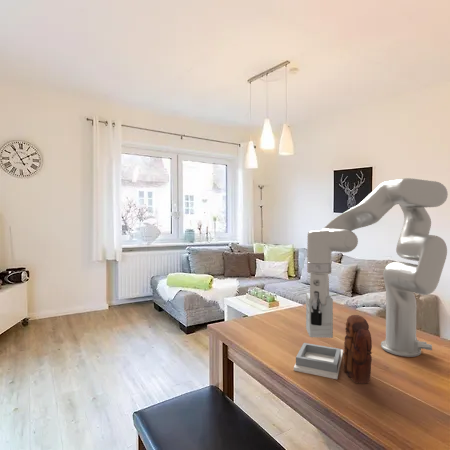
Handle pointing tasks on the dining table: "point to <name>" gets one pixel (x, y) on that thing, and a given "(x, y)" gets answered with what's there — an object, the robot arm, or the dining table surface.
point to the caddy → (319, 360)
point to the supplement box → (327, 319)
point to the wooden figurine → (357, 349)
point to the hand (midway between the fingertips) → (318, 320)
